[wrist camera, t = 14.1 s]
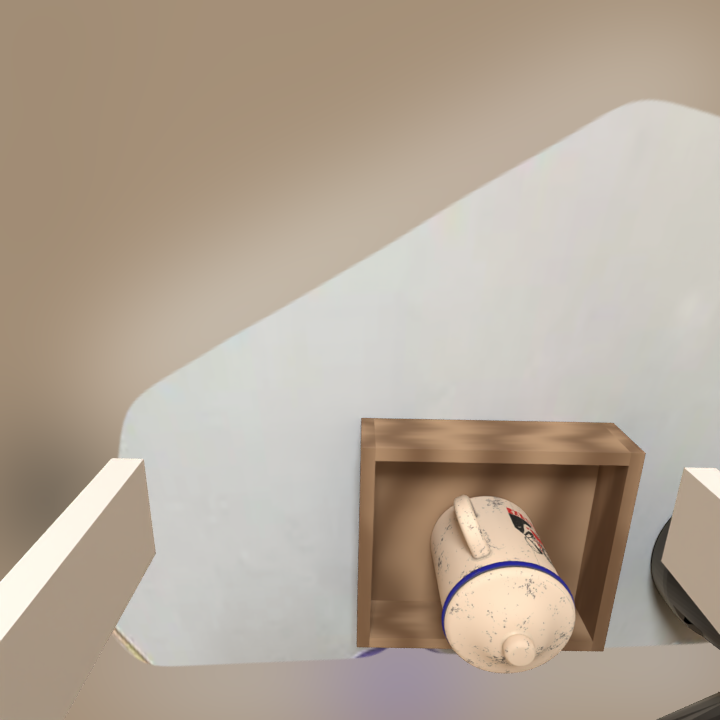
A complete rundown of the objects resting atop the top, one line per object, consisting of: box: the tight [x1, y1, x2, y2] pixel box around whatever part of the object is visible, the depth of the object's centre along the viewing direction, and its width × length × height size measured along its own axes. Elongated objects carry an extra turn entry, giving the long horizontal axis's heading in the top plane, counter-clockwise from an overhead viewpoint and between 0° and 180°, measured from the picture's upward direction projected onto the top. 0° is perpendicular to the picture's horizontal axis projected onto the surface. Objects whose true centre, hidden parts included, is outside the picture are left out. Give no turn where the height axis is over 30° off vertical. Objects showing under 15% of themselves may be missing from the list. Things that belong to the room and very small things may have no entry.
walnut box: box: [357, 418, 646, 651], centre depth 42 cm, size 20×18×5 cm
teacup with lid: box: [431, 495, 576, 673], centre depth 38 cm, size 12×9×12 cm
